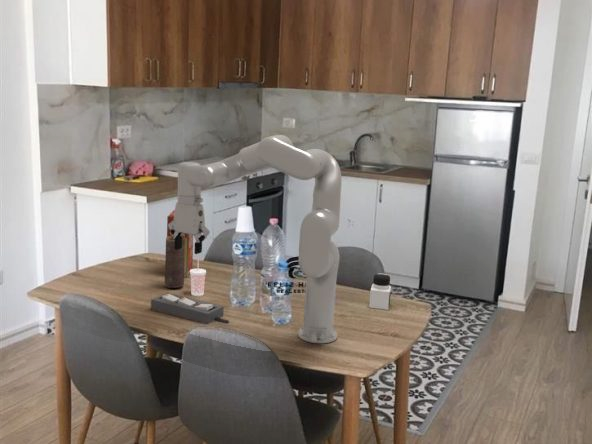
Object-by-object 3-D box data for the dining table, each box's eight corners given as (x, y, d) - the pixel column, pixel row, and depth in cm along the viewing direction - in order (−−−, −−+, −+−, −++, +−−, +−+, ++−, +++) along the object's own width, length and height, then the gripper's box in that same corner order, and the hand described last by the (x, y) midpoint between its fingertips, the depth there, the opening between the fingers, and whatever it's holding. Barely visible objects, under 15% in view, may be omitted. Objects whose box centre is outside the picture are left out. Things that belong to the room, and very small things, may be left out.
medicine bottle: (388, 310, 235) (391, 278, 233) (369, 307, 236) (371, 276, 234) (389, 304, 242) (392, 273, 239) (370, 301, 243) (373, 271, 241)
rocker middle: (195, 305, 222) (196, 302, 222) (189, 308, 219) (189, 305, 219) (184, 300, 224) (184, 297, 224) (177, 303, 221) (178, 300, 221)
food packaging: (188, 278, 260) (189, 217, 254) (164, 276, 260) (165, 216, 254) (193, 268, 273) (194, 210, 267) (171, 267, 273) (171, 209, 267)
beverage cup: (186, 292, 242) (186, 256, 239) (200, 290, 246) (201, 254, 243) (194, 297, 237) (195, 260, 234) (208, 294, 241) (209, 258, 238)
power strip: (235, 319, 218) (235, 309, 218) (220, 327, 211) (220, 317, 210) (167, 301, 231) (167, 292, 231) (150, 308, 224) (151, 299, 223)
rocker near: (213, 307, 219) (212, 304, 218) (206, 310, 216) (206, 307, 215) (201, 307, 221) (200, 303, 221) (194, 310, 218) (194, 306, 218)
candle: (186, 289, 246) (186, 238, 241) (166, 291, 243) (167, 239, 239) (181, 283, 252) (182, 233, 248) (163, 284, 250) (163, 234, 245)
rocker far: (179, 301, 225) (180, 298, 225) (172, 304, 222) (173, 301, 222) (168, 296, 227) (168, 293, 227) (161, 299, 224) (162, 296, 224)
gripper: (217, 201, 213) (215, 253, 217) (175, 194, 221) (174, 244, 225) (203, 204, 206) (202, 258, 210) (160, 197, 214) (160, 249, 218)
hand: (188, 250), depth 217 cm, fingers open, 7 cm apart
